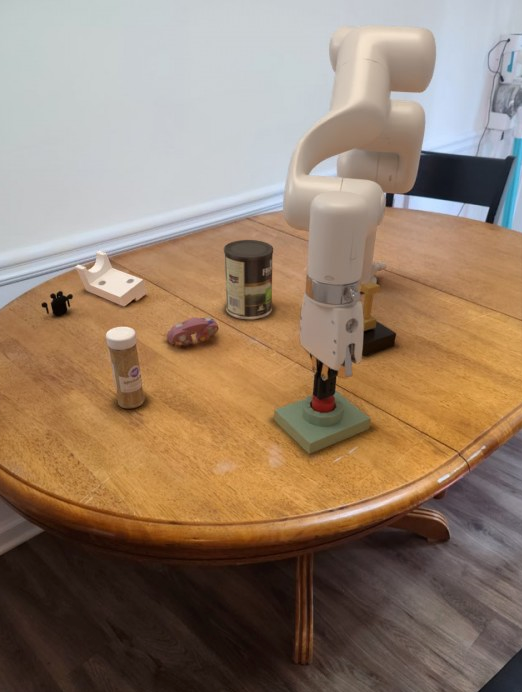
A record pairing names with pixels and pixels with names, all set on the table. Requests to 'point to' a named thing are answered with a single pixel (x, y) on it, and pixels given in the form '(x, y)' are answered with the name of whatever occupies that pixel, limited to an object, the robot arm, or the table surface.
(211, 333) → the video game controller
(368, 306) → the tap handle
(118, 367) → the sprinkles bottle
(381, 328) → the tap base
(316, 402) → the button
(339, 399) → the block
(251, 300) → the coffee can
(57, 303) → the wireless earbuds
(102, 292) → the bracket
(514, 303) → the table surface
